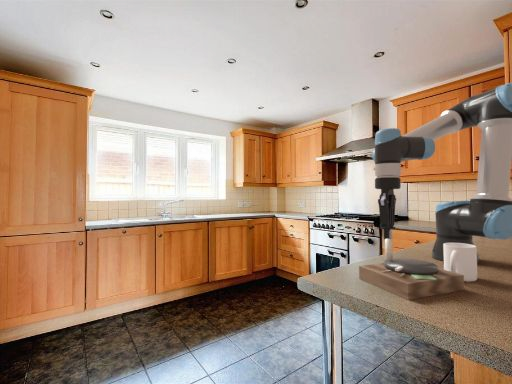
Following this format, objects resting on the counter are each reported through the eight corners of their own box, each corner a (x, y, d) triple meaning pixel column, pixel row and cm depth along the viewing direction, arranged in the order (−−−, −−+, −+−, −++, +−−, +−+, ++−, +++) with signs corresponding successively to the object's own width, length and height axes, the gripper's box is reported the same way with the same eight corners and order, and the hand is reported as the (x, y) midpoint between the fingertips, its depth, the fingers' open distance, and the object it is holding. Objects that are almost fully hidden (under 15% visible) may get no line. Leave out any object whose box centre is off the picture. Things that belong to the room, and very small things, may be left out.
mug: (469, 287, 75) (468, 250, 75) (435, 279, 81) (435, 246, 81) (480, 278, 82) (479, 245, 82) (449, 272, 89) (448, 241, 89)
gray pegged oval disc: (394, 259, 89) (393, 236, 90) (443, 267, 79) (443, 240, 79) (371, 270, 78) (370, 243, 78) (425, 281, 67) (425, 249, 67)
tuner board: (408, 272, 90) (407, 259, 90) (466, 290, 72) (465, 274, 72) (359, 278, 83) (359, 265, 83) (409, 300, 66) (409, 283, 66)
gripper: (380, 177, 94) (380, 243, 94) (369, 177, 84) (369, 250, 84) (404, 177, 89) (404, 246, 89) (395, 176, 79) (395, 254, 80)
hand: (387, 248), depth 87 cm, fingers closed
